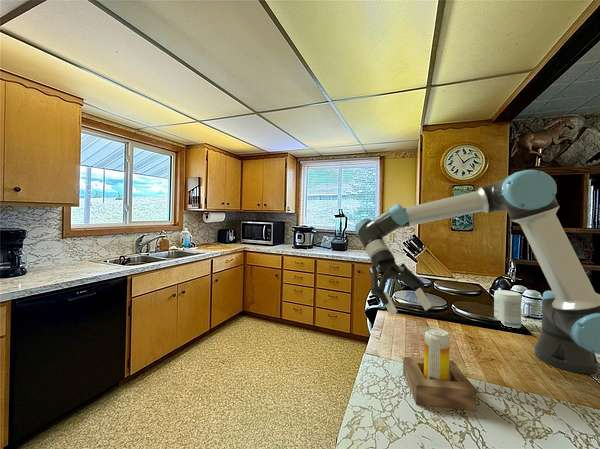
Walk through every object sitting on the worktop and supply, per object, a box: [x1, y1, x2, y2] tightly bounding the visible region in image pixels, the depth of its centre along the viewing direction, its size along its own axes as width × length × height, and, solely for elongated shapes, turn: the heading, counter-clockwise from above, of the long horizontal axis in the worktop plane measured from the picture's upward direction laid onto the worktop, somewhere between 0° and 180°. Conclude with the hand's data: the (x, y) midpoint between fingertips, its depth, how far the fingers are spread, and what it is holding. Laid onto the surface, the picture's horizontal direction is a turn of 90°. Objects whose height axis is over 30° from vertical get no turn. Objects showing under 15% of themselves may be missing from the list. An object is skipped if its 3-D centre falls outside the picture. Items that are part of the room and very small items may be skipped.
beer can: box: [423, 327, 451, 381], centre depth 73 cm, size 6×6×15 cm
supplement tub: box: [493, 289, 522, 329], centre depth 120 cm, size 10×10×15 cm
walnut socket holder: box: [402, 356, 478, 412], centre depth 73 cm, size 14×14×5 cm
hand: (411, 311), depth 81 cm, fingers open, 13 cm apart
